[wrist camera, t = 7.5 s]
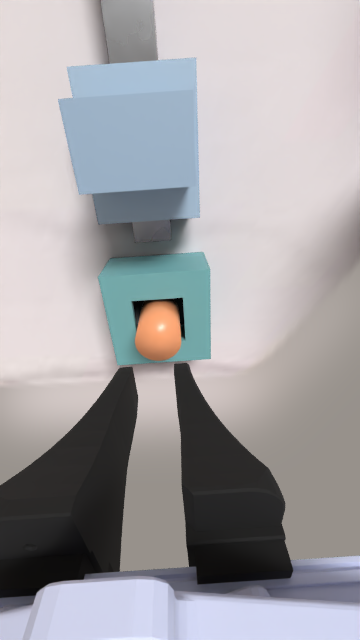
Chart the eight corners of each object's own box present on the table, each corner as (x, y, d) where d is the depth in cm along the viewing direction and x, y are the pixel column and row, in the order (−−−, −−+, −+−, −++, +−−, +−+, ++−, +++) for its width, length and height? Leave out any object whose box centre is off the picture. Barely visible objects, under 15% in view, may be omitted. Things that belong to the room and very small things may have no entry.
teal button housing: (203, 251, 20) (210, 269, 17) (204, 330, 24) (210, 359, 20) (107, 258, 20) (94, 277, 17) (123, 336, 24) (115, 365, 20)
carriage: (191, 76, 15) (206, 14, 9) (195, 210, 18) (208, 231, 12) (84, 84, 15) (26, 27, 9) (108, 216, 19) (78, 240, 12)
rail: (160, -418, 9) (157, -655, 6) (188, 232, 19) (191, 242, 17) (12, -407, 9) (-52, -640, 6) (120, 237, 19) (112, 247, 17)
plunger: (178, 292, 19) (179, 320, 16) (180, 326, 20) (182, 359, 17) (138, 295, 19) (131, 323, 16) (143, 329, 20) (138, 362, 17)
